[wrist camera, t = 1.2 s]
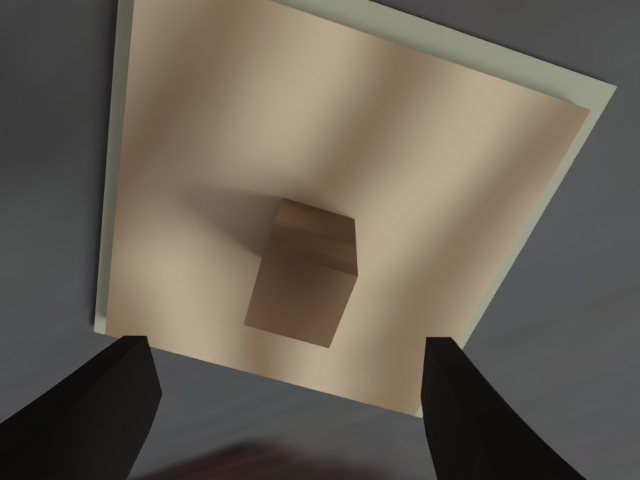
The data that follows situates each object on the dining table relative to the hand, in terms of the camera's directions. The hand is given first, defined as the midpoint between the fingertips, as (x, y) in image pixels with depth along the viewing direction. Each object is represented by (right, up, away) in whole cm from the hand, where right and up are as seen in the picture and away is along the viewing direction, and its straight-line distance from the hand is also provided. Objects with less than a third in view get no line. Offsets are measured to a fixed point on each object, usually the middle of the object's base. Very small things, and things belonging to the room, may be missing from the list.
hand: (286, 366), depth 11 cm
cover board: (0, +4, +8) cm, 8 cm away
